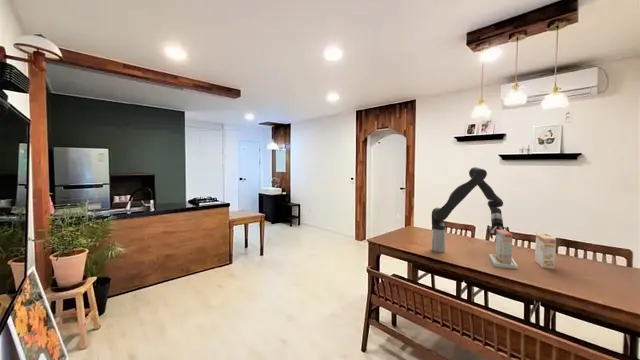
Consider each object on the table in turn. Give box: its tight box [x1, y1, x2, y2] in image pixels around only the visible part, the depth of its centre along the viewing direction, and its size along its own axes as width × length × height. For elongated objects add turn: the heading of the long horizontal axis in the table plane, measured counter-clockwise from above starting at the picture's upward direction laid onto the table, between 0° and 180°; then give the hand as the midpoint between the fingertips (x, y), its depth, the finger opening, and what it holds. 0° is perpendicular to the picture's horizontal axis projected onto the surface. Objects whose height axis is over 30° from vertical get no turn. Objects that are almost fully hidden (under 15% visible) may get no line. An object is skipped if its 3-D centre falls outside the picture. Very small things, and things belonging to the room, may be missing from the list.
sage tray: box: [488, 253, 519, 270], centre depth 203 cm, size 13×21×2 cm, turn 157°
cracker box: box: [495, 229, 514, 265], centre depth 203 cm, size 14×6×21 cm, turn 166°
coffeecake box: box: [534, 233, 557, 270], centre depth 199 cm, size 15×7×20 cm, turn 160°
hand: (498, 238), depth 217 cm, fingers open, 8 cm apart
